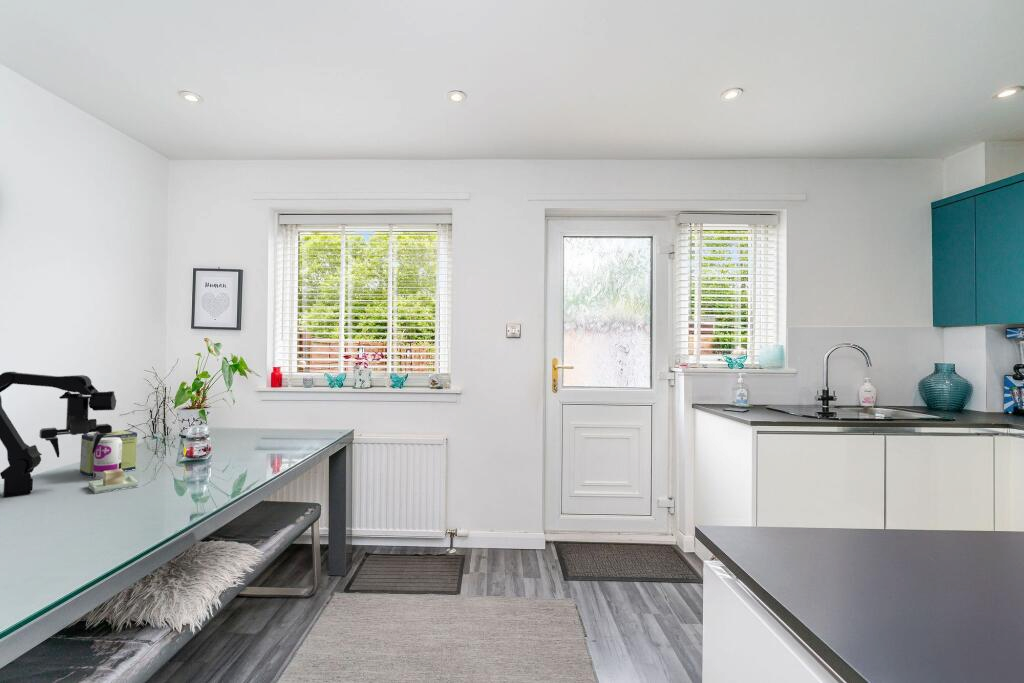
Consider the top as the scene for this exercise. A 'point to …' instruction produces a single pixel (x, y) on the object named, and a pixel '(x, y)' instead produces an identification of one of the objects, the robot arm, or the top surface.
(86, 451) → the protein box
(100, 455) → the supplement can
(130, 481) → the tray
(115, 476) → the maple cube
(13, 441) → the robot arm
